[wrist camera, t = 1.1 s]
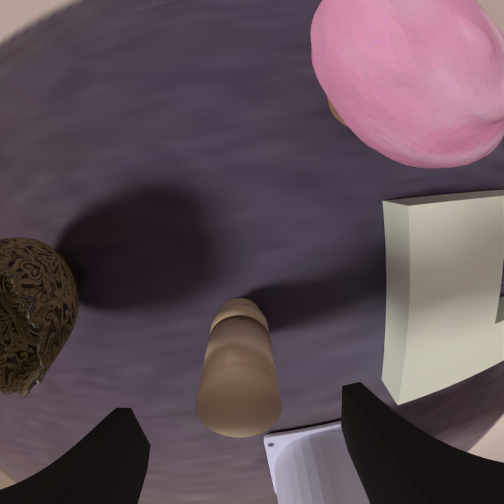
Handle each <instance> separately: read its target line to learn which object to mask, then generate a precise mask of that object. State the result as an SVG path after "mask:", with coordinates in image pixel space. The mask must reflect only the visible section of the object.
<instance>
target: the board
mask: <svg viewBox="0 0 504 504" xmlns="http://www.w3.org/2000/svg"><path fill="white" fill-rule="evenodd" d="M383 212H384V227H385V247H386V326H385V345H384V359H383V371H382V381H383V383H384V384H385V386H386V388H387V389H388V391H389V392H390V394H391V395H392V397H393V399H394V400H395V402H396V403H397V405H400V404H403V403H406V402H409V401H412V400H415V399H417V398H420V397H423V396H426V395H428V394H431V393H433V392H436V391H439V390H441V389H443V388H446V387H448V386H451V385H453V384H455V383H458V382H460V381H462V380H465V379H467V378H469V377H471V376H473V375H475V374H477V373H480V372H482V371H484V370H486V369H488V368H490V367H492V366H494V365H496V364H497V363H499V362H501V361H503V360H504V296H503V297H500V298H499V296H500V289H501V281H502V272H503V260H504V190H492V191H479V192H467V193H455V194H444V195H434V196H424V197H414V198H405V199H395V200H386V201H383Z"/></svg>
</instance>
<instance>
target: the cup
mask: <svg viewBox="0 0 504 504" xmlns="http://www.w3.org/2000/svg"><path fill="white" fill-rule="evenodd" d="M79 287H80V279H79V274H78V271H77V269H76V267H75V265H74V263H73V262H72V261H71V260H70V259H69V258H68V257H67V256H66V255H64V254H62V253H60V252H57V251H55V250H54V249H53V248H51V247H50V246H48V245H47V244H45V243H43V242H40V241H38V240H35V239H30V238H6V239H0V391H1V392H2V394H5V395H8V394H13V393H16V392H18V393H19V396H20V397H21V398H24V397H26V396H27V395H28V394H29V392H30V390H31V389H32V388H33V386H34V385H35V384H37V383H39V384H40V383H41V381H42V379H43V377H44V376H45V374H46V372H47V371H48V369H49V368H50V366H51V365H52V363H53V362H54V360H55V359H56V357H57V356H58V354H59V353H60V351H61V349H62V348H63V346H64V345H65V343H66V342H67V340H68V338H69V336H70V334H71V332H72V330H73V328H74V325H75V322H76V318H77V313H78V292H79Z"/></svg>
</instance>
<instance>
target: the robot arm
mask: <svg viewBox="0 0 504 504" xmlns="http://www.w3.org/2000/svg"><path fill="white" fill-rule="evenodd" d="M264 444H265V449H266V454H267V458H268V463H269V467H270V472H271V477H272V481H273V486H274V490H275V493H276V494H277V498H278V504H504V463H503V462H498V461H493V460H489V459H486V458H482V457H479V456H476V455H473V454H470V453H467V452H465V451H462V450H459V449H457V448H455V447H452V446H450V445H448V444H446V443H444V442H442V441H440V440H438V439H436V438H434V437H432V436H431V435H429V434H427V433H426V432H424V431H422V430H421V429H419V428H418V427H416V426H415V425H413V424H412V423H410V422H409V421H407V420H406V419H405V418H403V417H402V416H401V415H399V414H398V413H397V412H395V411H394V410H393V409H391V408H390V407H389V406H388V405H386V404H385V403H384V402H383V401H382V400H380V399H379V398H378V397H377V396H376V395H375V394H373V393H372V392H371V391H370V390H369V389H368V388H367V387H366V386H364V385H363V384H362V383H361V382H358V383H354V384H350V385H345V386H342V417H341V421H337V422H333V423H329V424H324V425H319V426H314V427H309V428H303V429H298V430H292V431H285V432H279V433H272V434H267V435H265V436H264ZM149 452H150V444H149V442H148V440H147V438H146V436H145V434H144V433H143V431H142V429H141V427H140V425H139V423H138V421H137V419H136V417H135V415H134V413H133V411H132V409H131V408H116V409H114V410H113V411H112V412H111V413H110V414H109V415H108V416H106V417H105V418H104V419H103V420H102V421H101V422H100V423H99V424H98V425H97V426H96V427H95V428H94V429H93V430H92V431H90V432H89V433H88V434H87V435H86V436H85V437H84V438H83V439H82V440H81V441H79V442H78V443H77V444H76V445H75V446H74V447H72V448H71V449H70V450H69V451H67V452H66V453H65V454H64V455H63V456H61V457H60V458H59V459H58V460H56V461H55V462H53V463H52V464H51V465H49V466H48V467H46V468H44V469H43V470H41V471H40V472H38V473H36V474H35V475H33V476H31V477H29V478H27V479H25V480H23V481H21V482H19V483H17V484H14V485H12V486H9V487H7V488H4V489H1V490H0V504H138V500H139V497H140V493H141V490H142V486H143V483H144V479H145V475H146V472H147V468H148V461H149Z"/></svg>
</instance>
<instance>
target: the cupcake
mask: <svg viewBox="0 0 504 504" xmlns="http://www.w3.org/2000/svg"><path fill="white" fill-rule="evenodd" d="M311 42H312V64H313V67H314V70H315V73H316V76H317V79H318V81H319V83H320V85H321V86H322V88H323V90H324V91H325V93H326V95H327V98H328V103H329V107H330V110H331V112H332V114H333V115H334V116H335V118H336V119H337V120H339V121H340V122H341V123H342V124H343V125H345V126H347V127H349V128H350V129H351V130H352V131H353V132H354V133H355V134H356V135H357V137H358V138H359V139H360V140H361V141H363V142H364V143H365V144H366V145H368V146H369V147H371V148H373V149H375V150H376V151H378V152H380V153H382V154H383V155H385V156H387V157H388V158H390V159H392V160H395V161H397V162H400V163H402V164H405V165H408V166H414V167H419V168H448V167H457V166H463V165H468V164H470V163H473V162H475V161H477V160H479V159H481V158H483V157H485V156H487V155H488V154H490V153H491V152H492V151H493V150H494V149H495V148H496V147H497V146H498V145H499V143H500V142H501V140H502V138H503V135H504V35H503V34H502V32H501V31H500V29H499V28H498V26H497V25H496V24H495V23H494V21H493V20H492V19H491V18H490V17H489V15H488V14H487V13H486V12H485V10H484V9H483V8H482V7H481V6H480V5H479V3H478V2H477V1H476V0H322V2H321V3H320V5H319V7H318V9H317V11H316V13H315V15H314V18H313V21H312V26H311Z"/></svg>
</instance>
